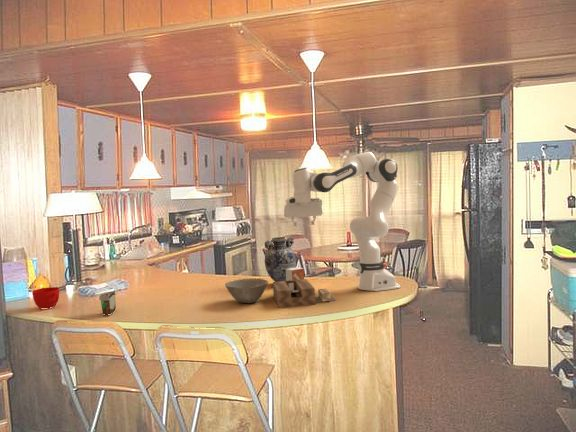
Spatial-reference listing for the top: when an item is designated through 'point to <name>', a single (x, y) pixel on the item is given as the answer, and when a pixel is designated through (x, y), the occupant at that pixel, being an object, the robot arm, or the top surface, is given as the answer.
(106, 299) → the food container
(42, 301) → the ceramic cup
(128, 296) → the top surface
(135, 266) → the top surface
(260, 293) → the ceramic bowl
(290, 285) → the eject lever
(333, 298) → the slate mat
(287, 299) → the walnut channel block
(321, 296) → the beech bar
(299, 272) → the small box
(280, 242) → the decorative vase
